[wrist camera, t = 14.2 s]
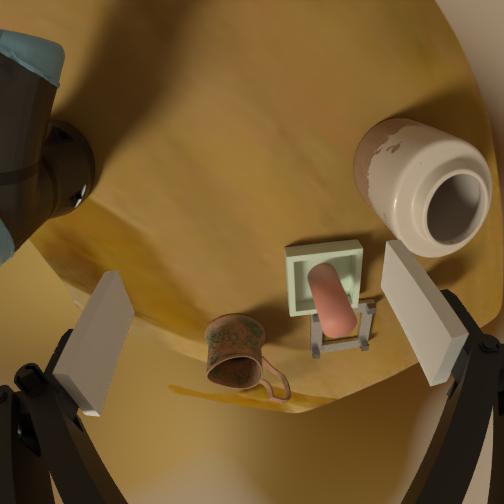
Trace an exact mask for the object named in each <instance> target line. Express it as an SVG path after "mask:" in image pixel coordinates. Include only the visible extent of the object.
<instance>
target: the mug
mask: <svg viewBox="0 0 504 504" xmlns="http://www.w3.org/2000/svg"><path fill="white" fill-rule="evenodd" d="M265 338H266V335H265V330H264V328H263V326H262V325H261V324H260V323H259V322H258V321H257V320H255V319H254V318H252V317H249V316H246V315H241V314H228V315H223V316H220V317H218V318H216V319H214V320H213V321H211V322H210V323H209V325H208V326H207V328H206V331H205V340H206V343H207V344H208V346H209V348H208V361H207V373H206V378H207V379H208V380H209V381H210V382H212V383H214V384H217V385H221V386H225V387H229V388H233V389H248V388H251V387H254V386H255V385H257V384H258V383H261V384H263V385H264V386H265V387H266V389H267V391H268V394H269V400H271V401H275V402H279V403H285V402H287V401H288V400H289V399H290V398H291V391H290V386H289V383H288V381H287V379H286V377H285V376H284V375H283V374H282V373H281V372H279V371H278V370H276V369H275V368H274V367H273V366H272V365H271V364H270V363H269V362H268V361H267V360H266V359H265V358H264V357H263V356H262V353H261V347H262V346H263V344H264V342H265ZM262 363H263V364H264V365H265V366H266V368H267V369H268V370H269V371H271V372H272V373H273V374H275V375H276V376H277V377H279V378H280V379H281V381H282V382H283V384H284V387H285V390H286V399H282V398H278V397H275V396H274V394H273V389H272V387H271V385H270V384H269V383H268V382H267V381H266V380H264V379H262V377H263V369H262Z"/></svg>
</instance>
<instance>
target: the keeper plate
mask: <svg viewBox="0 0 504 504" xmlns="http://www.w3.org/2000/svg"><path fill="white" fill-rule="evenodd" d="M352 309H353V311H354V313H360V319H359V326H358V333H357V337H352V338H345V339H339V340H332V341H325V342H322V331H323V330H322V327H321V323H320V320H319V317H318V313H316V314H310V353H311V354H312V357H313V359H317V358H320V353H324V352H331V351H337V350H344V349H350V348H356V347H360V348H361V350H362V351H367V350H368V349H369V344H368V338H369V332H370V326H371V321H372V314H375V310H376V307H375V305H374V300H373V298H371V299H364V300H358V308H352Z"/></svg>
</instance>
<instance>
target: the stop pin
mask: <svg viewBox="0 0 504 504" xmlns="http://www.w3.org/2000/svg"><path fill="white" fill-rule="evenodd" d="M307 280H308V283H309V287H310V290H311V293H312V296H313V300H314V303H315V306H316V310H317V313H318V317H319V320H320V323H321V327H322V330H323V333H324V334H325V335H326V336H328V337H331V338H339V337H343V336H345V335H347V334H349V333H350V332H351V331H352V330H353V329H354V328H355V326H356V324H357V319H356V316H355V314H354V311H353V309H352V307H351V304H350V302H349V300H348V297H347V295H346V293H345V290H344V288H343V286H342V284H341V281H340V279H339V277H338V274H337V272H336V270H335V268H334V267H333V266H332V265H330V264H325V263H323V264H318V265H316V266H314V267H313V268H312V269H311V270H310V271H309V273H308V276H307Z"/></svg>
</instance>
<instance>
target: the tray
mask: <svg viewBox="0 0 504 504" xmlns="http://www.w3.org/2000/svg"><path fill="white" fill-rule="evenodd" d="M284 249H285V263H286V278H287V294H288V307H289V313H290V317H292V316H300V315H308V314H316V313H317V310H316V306H315V303H314V300H313V296H312V293H311V290H310V287H309V283H308V280H307V276H308V273H309V271H310V270H311V269H312V268H313V267H314V266H316V265H318V264H323V263H325V264H330V265H332V266H333V267H334V268H335V270H336V272H337V274H338V277H339V279H340V281H341V284H342V286H343V288H344V290H345V293H346V295H347V297H348V300H349V302H350V304H351V307H352V308H358V300H359V291H360V281H361V270H362V258H363V247H362V246H361V244H360V242H359V241H358V239H353V240H344V241H335V242H326V243H317V244H308V245H299V246H290V247H284Z"/></svg>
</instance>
